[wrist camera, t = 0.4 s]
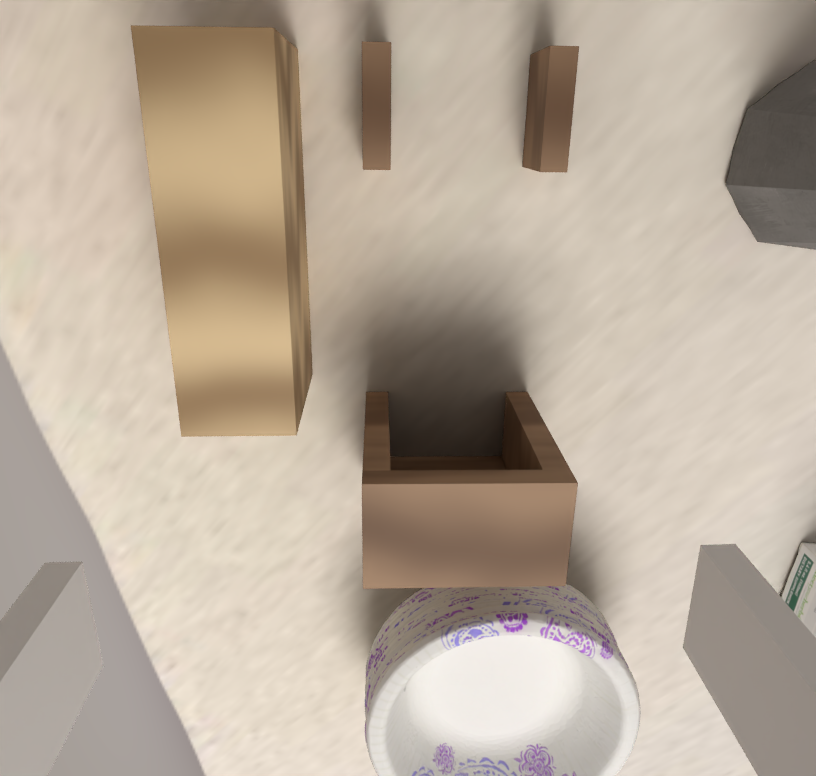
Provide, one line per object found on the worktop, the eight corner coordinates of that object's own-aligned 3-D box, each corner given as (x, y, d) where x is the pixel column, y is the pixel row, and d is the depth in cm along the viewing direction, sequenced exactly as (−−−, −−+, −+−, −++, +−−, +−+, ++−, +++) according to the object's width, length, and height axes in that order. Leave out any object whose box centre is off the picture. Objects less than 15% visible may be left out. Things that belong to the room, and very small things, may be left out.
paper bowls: (579, 508, 41) (622, 593, 34) (616, 694, 47) (661, 802, 39) (336, 569, 42) (327, 664, 35) (401, 744, 48) (405, 859, 40)
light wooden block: (189, 48, 32) (130, 25, 24) (298, 49, 32) (273, 27, 24) (220, 373, 37) (181, 436, 30) (312, 373, 38) (296, 435, 30)
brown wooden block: (366, 391, 38) (361, 484, 28) (527, 391, 38) (577, 483, 29) (366, 475, 40) (362, 588, 30) (520, 474, 40) (565, 586, 30)
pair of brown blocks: (363, 51, 32) (361, 41, 28) (555, 55, 32) (578, 46, 28) (364, 164, 34) (362, 169, 30) (546, 166, 34) (567, 172, 30)
